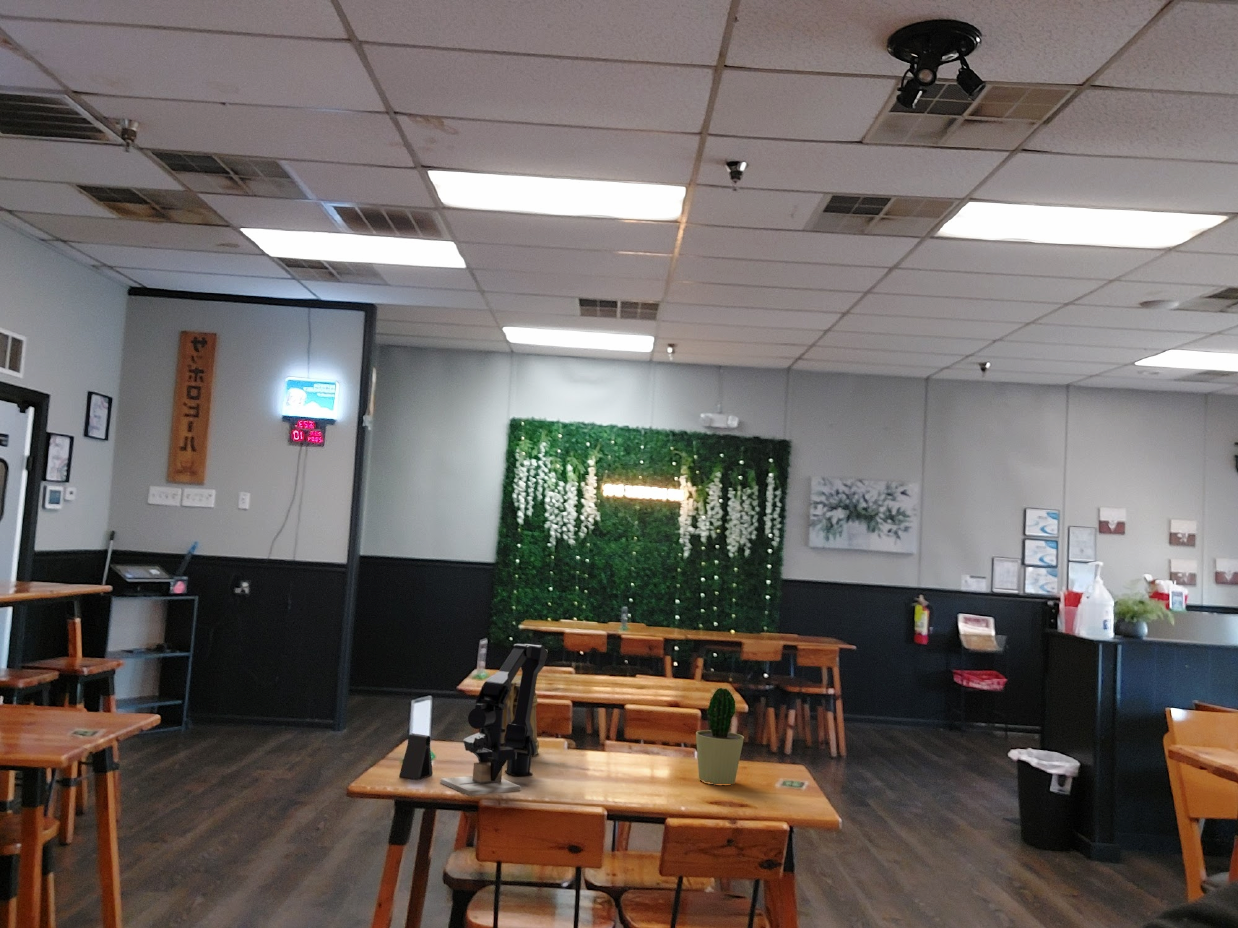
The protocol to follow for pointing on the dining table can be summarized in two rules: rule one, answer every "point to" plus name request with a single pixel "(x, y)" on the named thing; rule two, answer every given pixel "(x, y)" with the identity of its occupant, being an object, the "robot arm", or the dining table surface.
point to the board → (478, 786)
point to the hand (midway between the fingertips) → (488, 778)
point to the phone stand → (417, 758)
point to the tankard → (511, 709)
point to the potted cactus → (719, 742)
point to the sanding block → (484, 773)
